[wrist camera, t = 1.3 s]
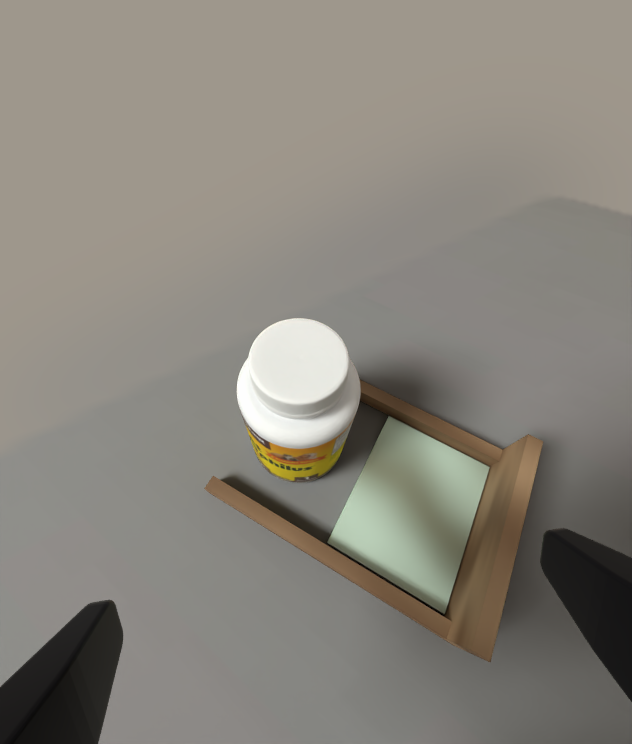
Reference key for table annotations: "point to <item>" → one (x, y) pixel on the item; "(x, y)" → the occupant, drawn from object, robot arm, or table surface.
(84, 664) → the robot arm
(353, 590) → the table surface
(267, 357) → the supplement bottle
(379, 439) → the bay
